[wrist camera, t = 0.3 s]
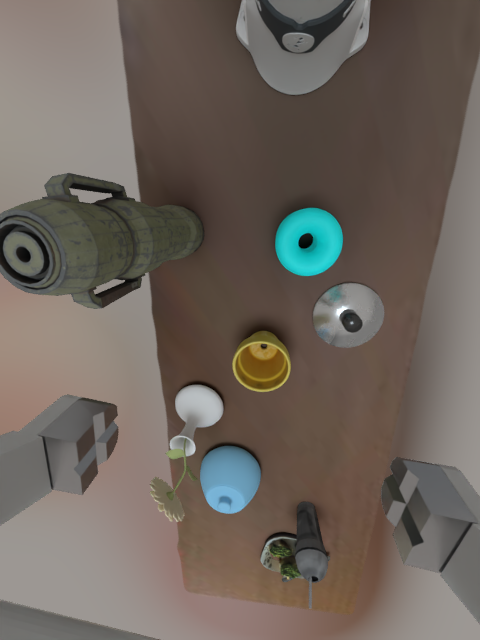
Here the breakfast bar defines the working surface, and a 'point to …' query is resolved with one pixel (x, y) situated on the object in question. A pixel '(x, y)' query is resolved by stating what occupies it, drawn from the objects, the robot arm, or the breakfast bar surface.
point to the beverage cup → (310, 546)
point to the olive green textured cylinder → (91, 241)
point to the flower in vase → (186, 440)
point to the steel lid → (348, 315)
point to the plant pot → (261, 362)
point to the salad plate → (282, 555)
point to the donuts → (323, 245)
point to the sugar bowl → (229, 478)
